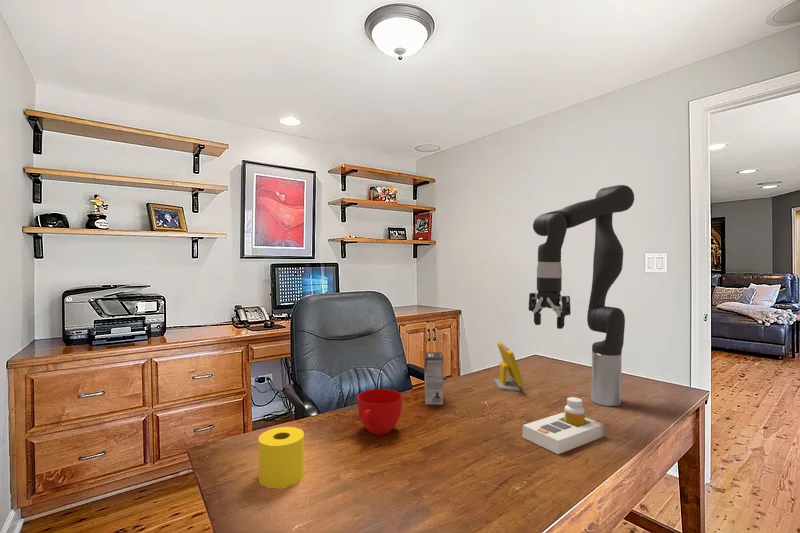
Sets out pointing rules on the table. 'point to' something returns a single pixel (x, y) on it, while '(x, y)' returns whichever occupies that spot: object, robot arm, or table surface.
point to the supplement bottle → (574, 412)
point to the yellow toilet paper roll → (281, 457)
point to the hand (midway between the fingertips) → (548, 326)
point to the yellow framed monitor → (508, 370)
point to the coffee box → (434, 378)
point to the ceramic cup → (379, 410)
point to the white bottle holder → (561, 433)
